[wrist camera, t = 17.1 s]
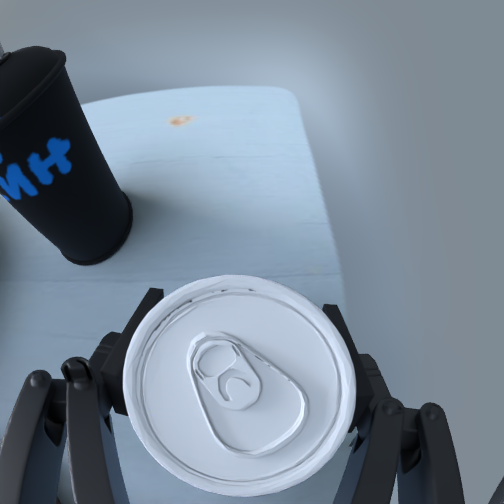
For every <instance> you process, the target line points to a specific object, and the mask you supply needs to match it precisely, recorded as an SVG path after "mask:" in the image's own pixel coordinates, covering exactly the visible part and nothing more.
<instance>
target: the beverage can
mask: <svg viewBox="0 0 504 504" xmlns="http://www.w3.org/2000/svg"><path fill="white" fill-rule="evenodd" d="M123 392H124V398H125V403H126V408H127V412H128V415H129V418H130V420H131V423H132V426H133V428H134V430H135V432H136V433H137V435H138V437H139V438H140V440H141V442H142V443H143V445H144V446H145V448H146V449H147V451H148V452H149V453H150V454H151V455H152V456H153V457H154V458H155V459H156V461H157V462H158V463H159V464H160V465H162V466H163V467H164V468H165V469H166V470H168V471H169V472H170V473H172V474H173V475H175V476H176V477H178V478H179V479H180V480H182V481H184V482H186V483H188V484H190V485H192V486H194V487H197V488H199V489H202V490H205V491H208V492H212V493H216V494H221V495H225V496H237V497H254V496H262V495H267V494H272V493H277V492H280V491H283V490H285V489H288V488H290V487H293V486H295V485H297V484H299V483H301V482H303V481H305V480H306V479H308V478H309V477H311V476H312V475H313V474H315V473H316V472H318V471H319V470H320V469H321V468H322V467H323V466H324V465H325V464H326V463H327V462H328V461H329V460H330V459H331V458H332V457H333V455H334V454H335V453H336V451H337V450H338V448H339V447H340V445H341V444H342V442H343V441H344V439H345V437H346V435H347V432H348V430H349V427H350V425H351V422H352V419H353V415H354V411H355V404H356V377H355V371H354V366H353V363H352V360H351V357H350V354H349V351H348V349H347V346H346V344H345V342H344V340H343V338H342V337H341V335H340V333H339V332H338V330H337V329H336V327H335V326H334V325H333V323H332V322H331V321H330V320H329V318H328V317H327V316H326V314H325V313H324V312H323V311H322V310H321V309H320V308H318V307H317V306H316V305H315V304H313V303H312V302H311V301H310V300H309V299H307V298H306V297H305V296H303V295H301V294H300V293H298V292H296V291H295V290H293V289H291V288H289V287H287V286H285V285H282V284H280V283H278V282H274V281H271V280H268V279H264V278H260V277H255V276H246V275H220V276H215V277H210V278H206V279H201V280H197V281H195V282H192V283H189V284H187V285H184V286H182V287H180V288H179V289H177V290H175V291H174V292H172V293H171V294H169V295H168V296H166V297H165V298H163V299H162V300H161V301H160V302H159V303H158V304H157V305H156V306H155V307H154V308H153V309H152V310H150V311H149V312H148V314H147V315H146V316H145V318H144V319H143V320H142V322H141V323H140V325H139V326H138V328H137V329H136V331H135V333H134V335H133V337H132V340H131V342H130V345H129V348H128V350H127V354H126V359H125V364H124V369H123Z"/></svg>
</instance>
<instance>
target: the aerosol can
mask: <svg viewBox="0 0 504 504" xmlns="http://www.w3.org/2000/svg"><path fill="white" fill-rule="evenodd" d="M65 62H66V55H65V53H64V52H62V51H60V50H51V49H50V48H46V47H41V46H32V47H26V48H22V49H19V50H17V51H14V52H12V53H11V52H7V53H4V50H3V48H2V45H1V43H0V194H1V195H2V196H3V197H4V198H5V199H6V200H7V201H8V202H9V203H10V204H11V205H12V206H13V207H14V208H15V209H16V210H17V211H18V212H19V213H20V214H21V215H22V216H23V217H24V218H25V219H26V220H27V221H29V222H30V223H31V224H32V225H33V226H34V227H35V228H36V229H37V230H38V231H39V232H40V233H42V234H43V235H44V236H45V237H46V238H47V239H48V240H49V241H51V242H52V243H53V244H54V245H55V246H56V247H58V248H59V249H60V251H61V253H62V254H63V256H64V257H65V258H66V259H67V260H69V261H71V262H72V263H75V264H78V265H92V264H96V263H99V262H101V261H104V260H105V259H107V258H108V257H110V256H111V255H112V254H114V253H115V252H116V251H117V250H118V249H119V248H120V246H121V245H122V244H123V243H124V241H125V239H126V238H127V236H128V234H129V231H130V228H131V225H132V220H133V210H132V206H131V202H130V200H129V198H128V197H127V196H126V194H125V193H124V192H122V191H121V189H120V187H119V186H118V184H117V182H116V180H115V178H114V176H113V174H112V172H111V170H110V168H109V166H108V164H107V162H106V160H105V158H104V156H103V154H102V152H101V150H100V148H99V146H98V144H97V141H96V139H95V137H94V135H93V133H92V131H91V129H90V126H89V124H88V122H87V120H86V117H85V115H84V113H83V110H82V108H81V106H80V103H79V101H78V99H77V97H76V94H75V91H74V89H73V87H72V84H71V82H70V79H69V77H68V74H67V71H66V68H65V66H64V65H65Z"/></svg>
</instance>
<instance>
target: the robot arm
mask: <svg viewBox="0 0 504 504" xmlns="http://www.w3.org/2000/svg"><path fill="white" fill-rule="evenodd" d="M163 298H164V293H163V289H157V288H150V289H149V290H148V292H147V293H146V295H145V297H144V298H143V300H142V301H141V303H140V304H139V306H138V308H137V309H136V311H135V312H134V314H133V316H132V317H131V319H130V320H129V322H128V324H127V325H126V327H125V329H124V330H123V332H122V334H121V333H116V332H110V333H109V334H107V335H106V336H105V337H103V339H102V341H101V342H100V344H99V346H98V347H97V348H96V351H94V353H93V355H92V356H91V358H90V359H89V361H88V360H87V359H85V358H83V357H72V358H69V359H68V360H66V361H65V362H64V363H63V364H62V366H61V371H62V373H63V375H64V378H65V379H52V378H51V375H50V374H49V373H48V372H47V371H44V370H36V371H33V372H32V373H30V374H29V375H28V377H27V378H26V380H25V382H24V385H23V387H22V389H21V392H20V394H19V396H18V399H17V401H16V404H15V406H14V409H13V411H12V414H11V416H10V419H9V422H8V425H7V428H6V430H5V433H4V436H3V439H2V443H1V446H0V504H56V497H57V489H58V482H59V475H60V469H61V463H62V458H63V452H64V447H65V443H66V438H67V446H68V459H69V469H70V478H71V485H72V492H73V498H74V503H75V504H130V502H129V499H128V495H127V492H126V488H125V484H124V480H123V476H122V472H121V468H120V463H119V458H118V454H117V449H116V443H115V438H114V432H113V426H112V419H111V416H110V413H109V412H110V410H111V408H112V406H113V408H114V410H115V413H118V414H122V415H126V416H129V415H128V412H127V408H126V403H125V398H124V392H123V369H124V364H125V359H126V354H127V350H128V348H129V345H130V342H131V340H132V337H133V335H134V333H135V331H136V329H137V328H138V326H139V325H140V323H141V322H142V320H143V319H144V318H145V316H146V315H147V314H148V312H149V311H150V310H152V309H153V308H154V307H155V306H156V305H157V304H158V303H159V302H160V301H161V300H162V299H163ZM322 311H323V312H324V313H325V314H326V316H327V317H328V318H329V320H330V321H331V322H332V323H333V325H334V326H335V327H336V329H337V330H338V332H339V333H340V335H341V337H342V338H343V340H344V342H345V344H346V346H347V349H348V351H349V354H350V357H351V360H352V363H353V366H354V371H355V377H356V404H355V411H354V415H353V419H352V422H351V425H350V427H349V430H348V432H347V433H351V432H352V431H353V429H354V428H355V426H357V430H358V434H357V435H356V437H355V438H354V439H353V441H352V442H351V444H350V445H349V446H350V447H352V445H353V447H352V450H351V453H350V456H349V460H348V463H347V466H346V469H345V472H344V475H343V477H342V480H341V483H340V486H339V488H338V491H337V494H336V496H335V499H334V501H333V504H390V500H391V496H392V491H393V487H394V483H395V478H396V473H397V481H398V501H399V504H465V501H464V495H463V488H462V482H461V477H460V472H459V467H458V462H457V458H456V453H455V449H454V445H453V441H452V437H451V433H450V430H449V426H448V423H447V419H446V415H445V412H444V411H443V409H442V408H441V407H440V406H439V405H437V404H435V403H431V402H430V403H426V404H424V405H423V406H422V407H421V409H412V408H405V407H404V406H403V404H402V403H401V402H400V401H399V400H398V399H395V398H393V397H391V395H390V393H389V390H388V388H387V386H386V383H385V381H384V379H383V377H382V376H381V372H380V370H378V366H377V364H376V362H375V360H374V359H373V358H372V357H371V356H370V355H369V354H358V352H357V349H356V347H355V345H354V342H353V340H352V338H351V335H350V333H349V331H348V329H347V326H346V324H345V322H344V320H343V317H342V315H341V313H340V311H339V308H338V306H337V305H330V304H324V306H323V310H322Z"/></svg>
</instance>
